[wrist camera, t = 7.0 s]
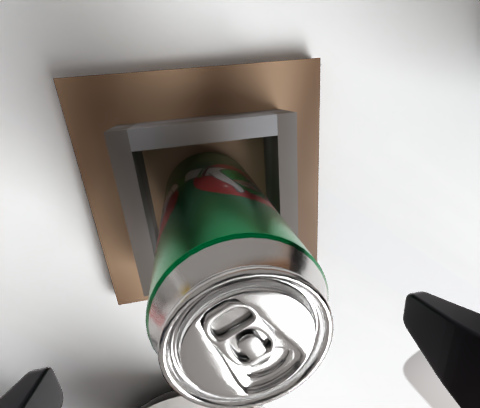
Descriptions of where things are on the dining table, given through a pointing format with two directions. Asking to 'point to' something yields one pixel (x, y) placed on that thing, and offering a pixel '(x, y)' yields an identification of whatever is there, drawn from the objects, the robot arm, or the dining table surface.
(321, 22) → the dining table surface
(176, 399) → the spread jar
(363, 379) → the dining table surface
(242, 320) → the soda can
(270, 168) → the keeper board
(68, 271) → the dining table surface
